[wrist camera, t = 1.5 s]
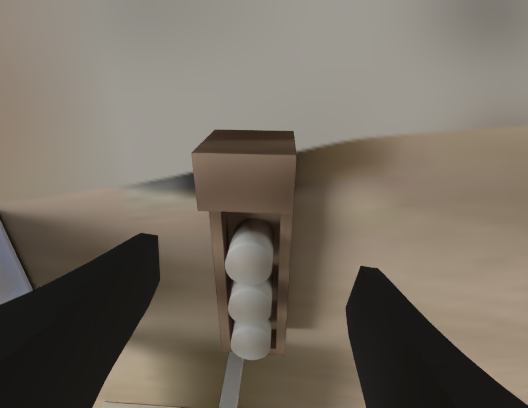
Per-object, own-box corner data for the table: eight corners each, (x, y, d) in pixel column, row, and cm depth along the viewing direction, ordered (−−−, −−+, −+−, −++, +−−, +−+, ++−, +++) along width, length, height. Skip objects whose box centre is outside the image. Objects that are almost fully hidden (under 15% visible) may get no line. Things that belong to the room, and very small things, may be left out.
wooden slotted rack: (213, 129, 18) (189, 152, 13) (295, 131, 17) (298, 155, 13) (227, 324, 25) (215, 381, 21) (284, 328, 25) (284, 386, 20)
